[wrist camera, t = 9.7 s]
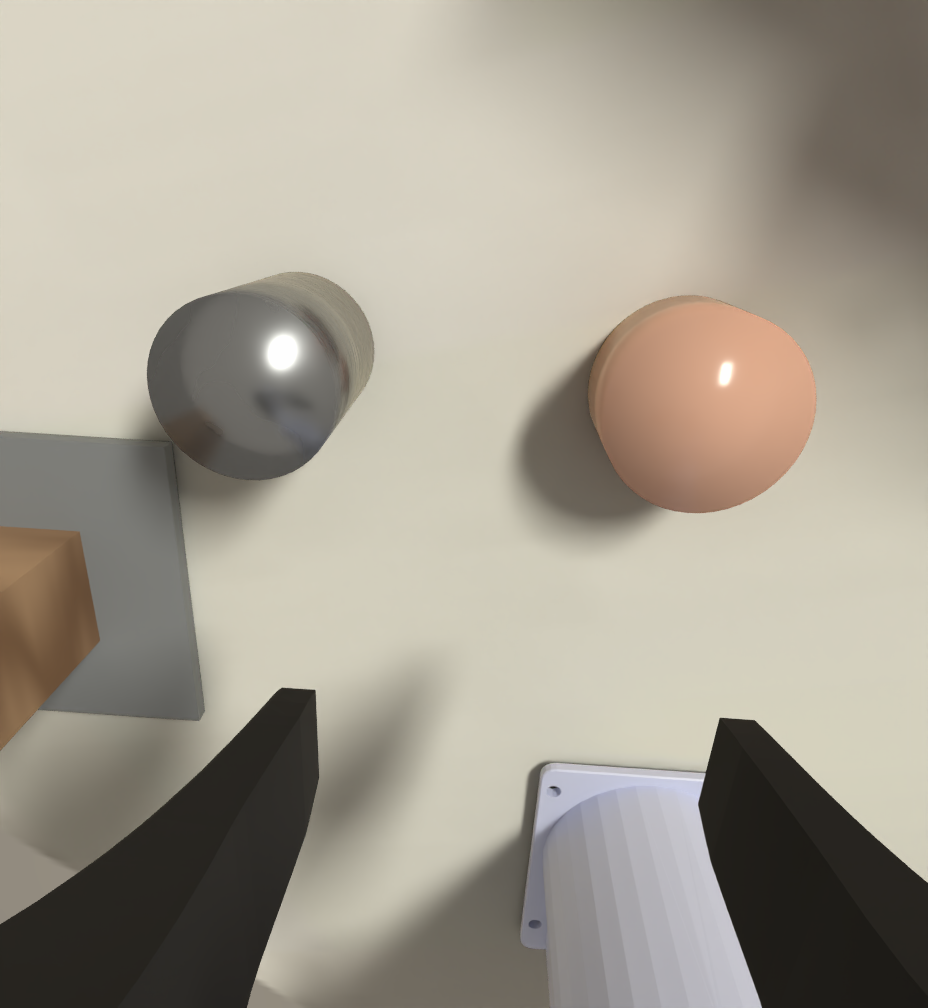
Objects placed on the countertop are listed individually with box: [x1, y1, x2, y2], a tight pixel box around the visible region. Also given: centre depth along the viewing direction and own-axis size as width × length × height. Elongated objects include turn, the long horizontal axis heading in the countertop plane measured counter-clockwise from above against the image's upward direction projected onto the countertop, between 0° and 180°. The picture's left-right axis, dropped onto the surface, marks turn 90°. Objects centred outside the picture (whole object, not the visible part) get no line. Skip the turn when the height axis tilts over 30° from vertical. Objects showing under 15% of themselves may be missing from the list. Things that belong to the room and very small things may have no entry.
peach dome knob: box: [588, 296, 816, 513], centre depth 18 cm, size 5×5×3 cm
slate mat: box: [0, 431, 205, 721], centre depth 22 cm, size 10×10×1 cm
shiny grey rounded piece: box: [147, 272, 374, 480], centre depth 17 cm, size 4×4×5 cm
